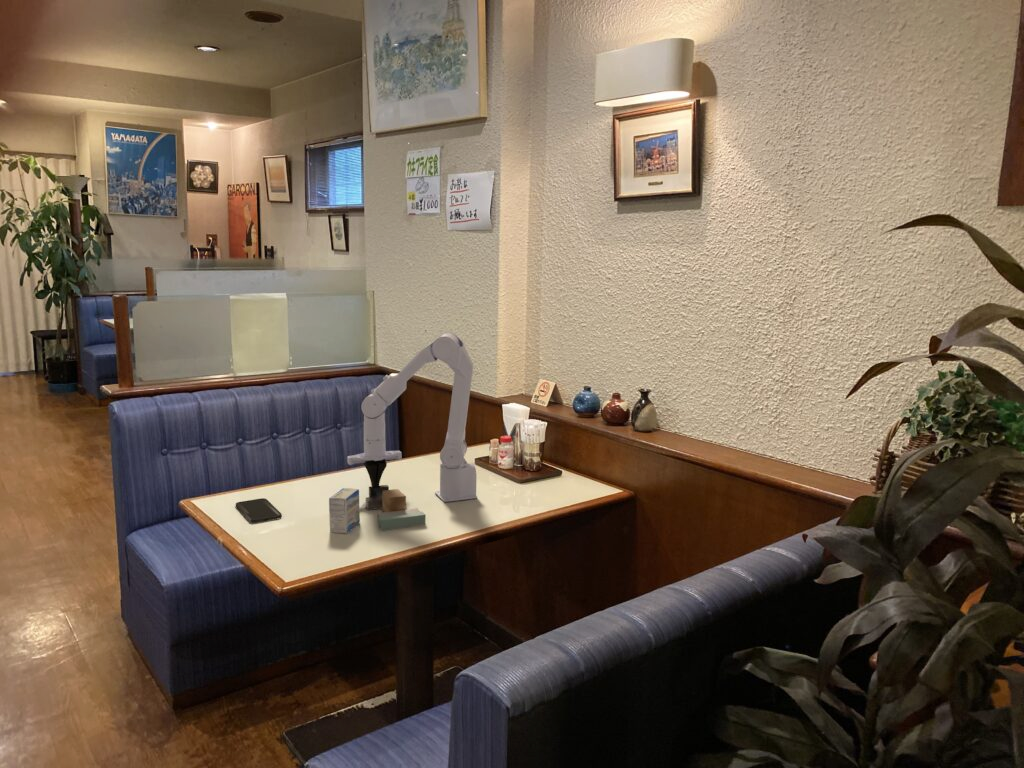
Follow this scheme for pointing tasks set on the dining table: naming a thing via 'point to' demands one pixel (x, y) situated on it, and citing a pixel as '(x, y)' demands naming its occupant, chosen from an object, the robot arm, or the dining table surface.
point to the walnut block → (393, 500)
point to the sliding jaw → (376, 497)
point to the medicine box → (344, 510)
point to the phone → (258, 510)
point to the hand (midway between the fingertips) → (375, 487)
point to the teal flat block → (400, 519)
